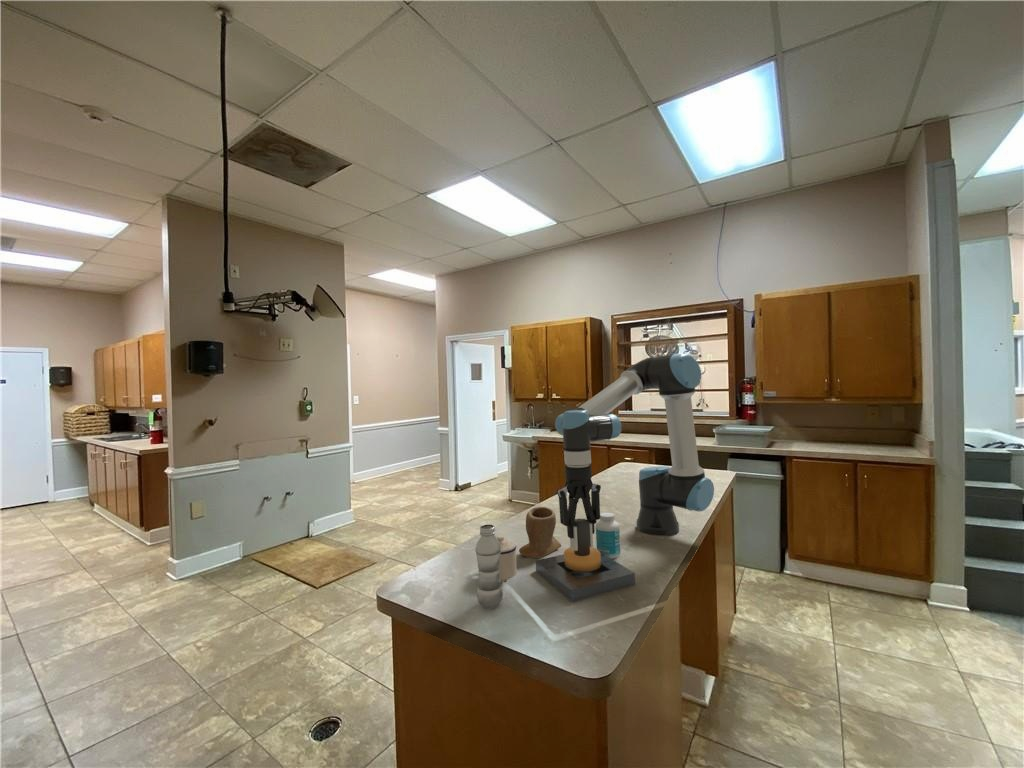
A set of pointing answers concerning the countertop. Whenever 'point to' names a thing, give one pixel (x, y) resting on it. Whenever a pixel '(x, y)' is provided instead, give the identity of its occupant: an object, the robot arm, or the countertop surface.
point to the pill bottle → (608, 536)
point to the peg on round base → (582, 551)
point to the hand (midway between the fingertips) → (581, 547)
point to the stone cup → (540, 533)
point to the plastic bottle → (488, 568)
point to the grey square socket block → (584, 577)
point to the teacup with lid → (507, 559)
